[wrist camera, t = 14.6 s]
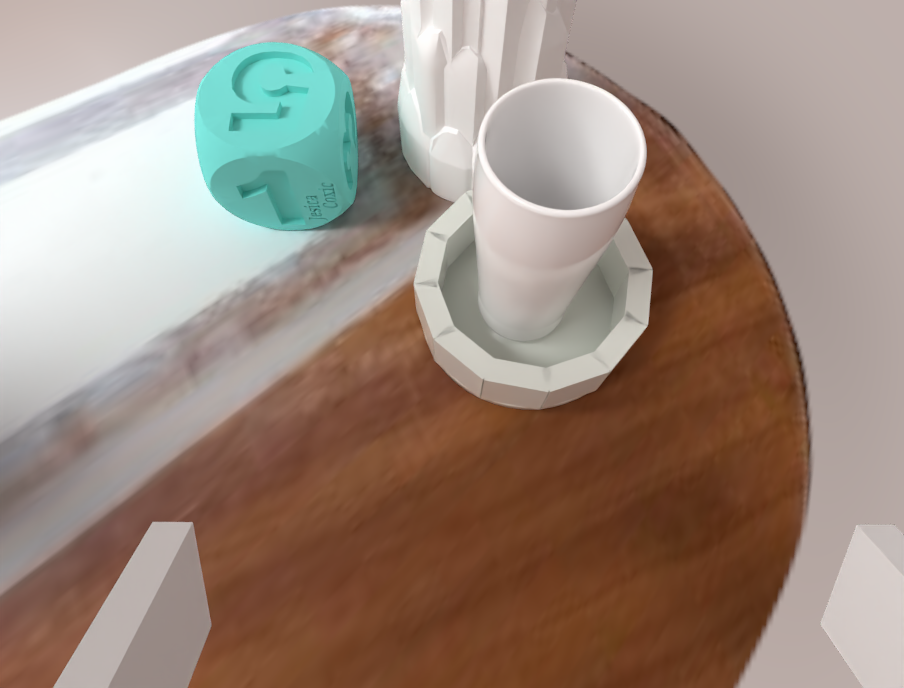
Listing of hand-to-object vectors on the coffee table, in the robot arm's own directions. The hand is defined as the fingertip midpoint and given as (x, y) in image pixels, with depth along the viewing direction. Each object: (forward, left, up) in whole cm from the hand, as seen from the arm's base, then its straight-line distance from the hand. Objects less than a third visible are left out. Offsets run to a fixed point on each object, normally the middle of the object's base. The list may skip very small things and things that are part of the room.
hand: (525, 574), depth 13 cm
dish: (0, +16, -22) cm, 28 cm away
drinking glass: (0, +16, -22) cm, 27 cm away
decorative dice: (-16, +23, -23) cm, 36 cm away
